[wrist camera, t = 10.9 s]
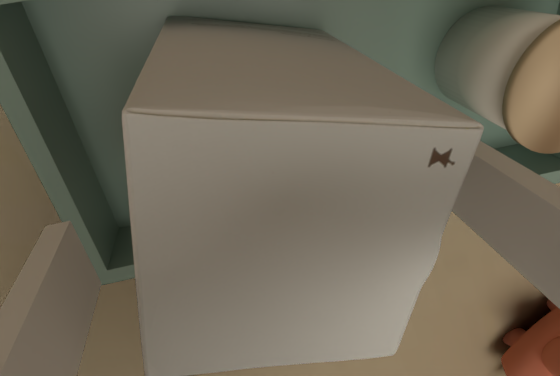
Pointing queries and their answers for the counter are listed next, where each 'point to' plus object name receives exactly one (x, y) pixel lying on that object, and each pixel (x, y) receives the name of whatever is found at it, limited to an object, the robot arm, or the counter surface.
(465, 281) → the counter surface
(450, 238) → the counter surface
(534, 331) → the teapot
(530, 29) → the jar
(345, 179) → the supplement box
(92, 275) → the robot arm
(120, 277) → the tray
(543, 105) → the lid
